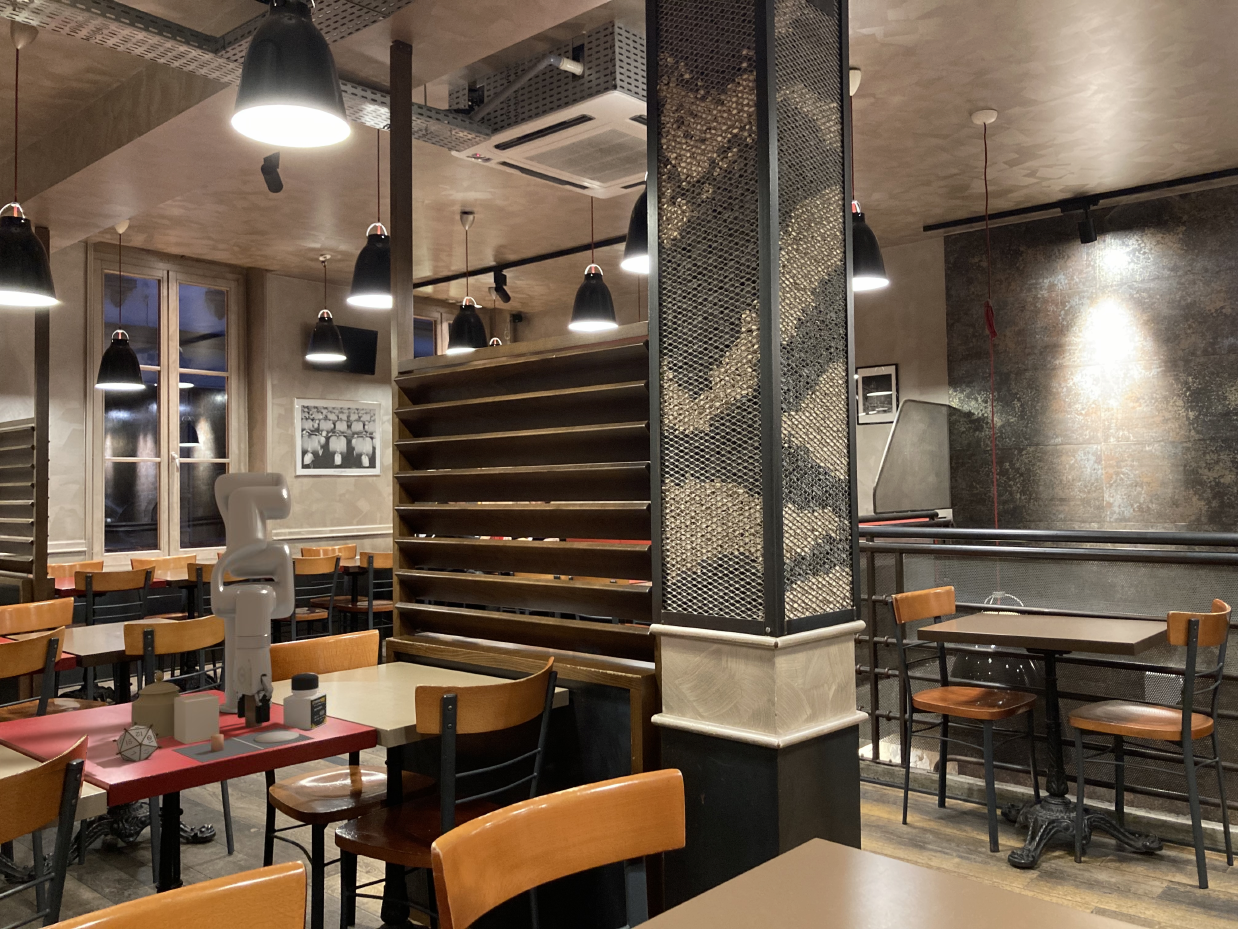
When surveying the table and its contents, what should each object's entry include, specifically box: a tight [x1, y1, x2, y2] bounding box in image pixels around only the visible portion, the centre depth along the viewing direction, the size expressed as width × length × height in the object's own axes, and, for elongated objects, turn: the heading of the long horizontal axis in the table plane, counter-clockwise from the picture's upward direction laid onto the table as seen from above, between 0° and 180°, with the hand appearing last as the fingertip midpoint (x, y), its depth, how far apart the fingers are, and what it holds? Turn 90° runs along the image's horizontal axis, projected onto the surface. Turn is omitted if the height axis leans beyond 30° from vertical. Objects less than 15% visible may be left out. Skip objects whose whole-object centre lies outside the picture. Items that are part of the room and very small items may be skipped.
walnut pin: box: [244, 690, 263, 729], centre depth 216 cm, size 4×4×9 cm
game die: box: [111, 721, 164, 762], centre depth 190 cm, size 9×8×10 cm
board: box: [172, 727, 316, 763], centre depth 200 cm, size 15×24×4 cm, turn 137°
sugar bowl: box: [130, 670, 184, 740], centre depth 212 cm, size 15×11×15 cm
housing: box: [173, 692, 220, 745], centre depth 206 cm, size 7×10×7 cm
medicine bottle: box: [282, 672, 327, 731], centre depth 220 cm, size 7×7×12 cm
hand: (253, 719), depth 216 cm, fingers open, 8 cm apart
